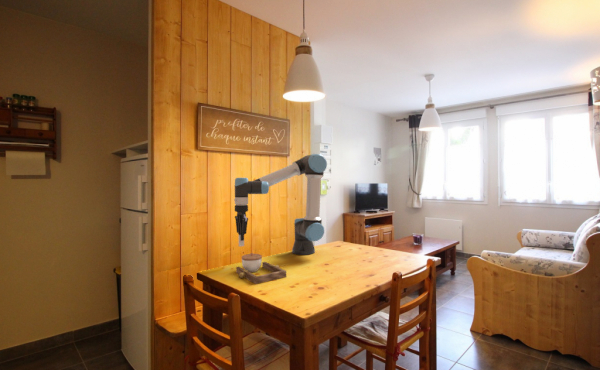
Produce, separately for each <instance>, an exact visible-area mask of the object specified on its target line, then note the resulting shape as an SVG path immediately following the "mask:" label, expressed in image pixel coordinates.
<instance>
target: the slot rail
mask: <svg viewBox="0 0 600 370" xmlns="http://www.w3.org/2000/svg"><path fill="white" fill-rule="evenodd" d="M261 265H262V268H263V269H265V270H267V271H269V273H266V274H262V275H255V274H254V273H253V272H249V271H247V270H245V269H244V268H243V267H241V266H236V268H235V272H236V274H237V275H238V276H239V278H240V279H243V278H244V279H246V280H248V281H250V282H251V283H252V284H255V285H257V284H261V283H265V282H266V283H267V282H270V281H274V280H279V279H283V278H286V277H287V270H285V269H282V268H280V265H278V264H277V265H275V264H272V263H269V262H267V261H261Z"/></svg>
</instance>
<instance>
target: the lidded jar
mask: <svg viewBox="0 0 600 370" xmlns="http://www.w3.org/2000/svg"><path fill="white" fill-rule="evenodd" d="M262 258H263V256H262V255H261V254H259V253H253V252H250V253H248V254H243V255H242V256H241V264H242V268H243V269H244V270H247V271H249V272H250V273H255V272H258V270H259V269H260V268H261V265H262V262H263V261H262Z"/></svg>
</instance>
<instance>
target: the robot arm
mask: <svg viewBox="0 0 600 370" xmlns="http://www.w3.org/2000/svg"><path fill="white" fill-rule="evenodd" d="M327 166H328V162H327V159H326V158H325V156H324V155H323V154H321V153H313V154H307V155H305V156H303V157H300V158H299V159H297V160H295V161H293V162H292V163H291V164H290V165H287V166H285V167H282V168H281V169H278V170H275V171H273V172H270V173H268V174H266V175H263V176H260V177H258V178H257V179H254V180H251V181H250V180H249V178H248V177H236V178H235V179H234V199H233V200H234V212H235V213H236V215H235V216H234V218H235V227H236V233H237V234H238V247H244V246H245V235H246V234H247V230H248V229H247V228H248V221H249V217H247V214H246V213H247V212H248V211H249V195H267V194H268V193H269V190H270V187H271V186H274V185H277V184H279V183H281V182H283V181H286V180H288V179H291V178H293V177H294V176H301V175H305V177H306V179H307V180H306V203H305V216H304V217H302V218H301V217H300V218H295V219H294V223H293V224H294V242H293V246H292V247H291V248H292V249H291V252H292V254H294V255H300V256H308V255H313V254H315V252H316V251H315V250H316V249H315V246H314V243H313V242H319V240H322V238H323V237H324V234H325V227H324V226H323V223H322V222H323V221H322V219H323V218H321V216H320V212H321V211H320V210H321V209H320V208H321V185H322V184H321V183H322V178H323V177H324V172H325V170H327Z"/></svg>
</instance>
